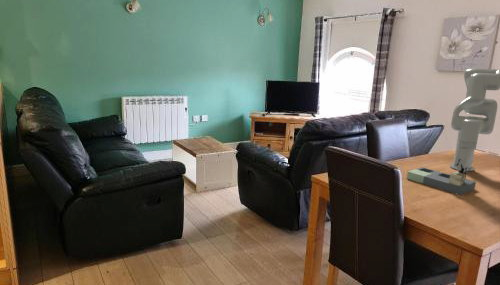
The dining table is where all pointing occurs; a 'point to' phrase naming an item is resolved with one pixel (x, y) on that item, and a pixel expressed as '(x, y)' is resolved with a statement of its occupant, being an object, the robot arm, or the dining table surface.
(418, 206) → the dining table surface
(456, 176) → the maple block
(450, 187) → the board
